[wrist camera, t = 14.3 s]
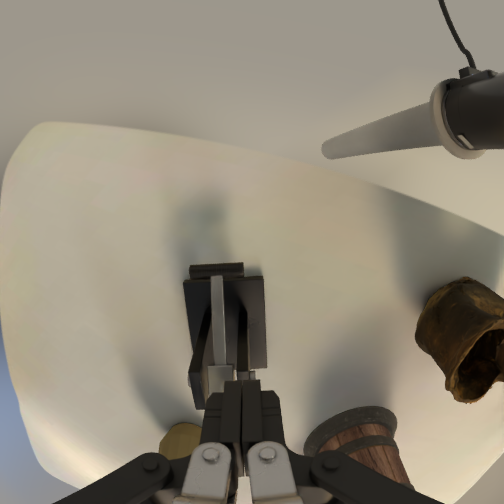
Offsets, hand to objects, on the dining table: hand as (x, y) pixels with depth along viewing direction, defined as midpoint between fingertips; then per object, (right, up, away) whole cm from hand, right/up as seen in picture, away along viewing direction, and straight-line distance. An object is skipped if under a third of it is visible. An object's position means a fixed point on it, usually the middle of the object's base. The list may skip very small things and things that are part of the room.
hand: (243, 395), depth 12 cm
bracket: (-3, -3, +24) cm, 25 cm away
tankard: (+16, -29, +31) cm, 46 cm away
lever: (-3, -1, +16) cm, 16 cm away
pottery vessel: (+29, -2, +25) cm, 39 cm away
